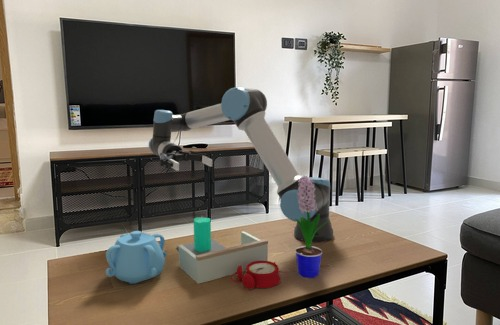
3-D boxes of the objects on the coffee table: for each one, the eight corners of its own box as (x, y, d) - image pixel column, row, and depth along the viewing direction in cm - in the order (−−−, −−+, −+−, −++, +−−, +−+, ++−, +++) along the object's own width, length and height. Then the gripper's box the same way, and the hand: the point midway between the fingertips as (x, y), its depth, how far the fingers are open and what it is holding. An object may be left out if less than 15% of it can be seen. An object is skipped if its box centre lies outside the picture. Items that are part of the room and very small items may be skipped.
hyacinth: (319, 284, 107) (321, 181, 103) (288, 274, 114) (289, 176, 109) (332, 273, 114) (335, 176, 110) (302, 264, 120) (304, 172, 116)
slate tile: (211, 240, 142) (211, 238, 142) (230, 252, 131) (230, 250, 131) (176, 248, 135) (176, 246, 135) (192, 261, 123) (192, 259, 123)
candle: (190, 248, 133) (189, 215, 131) (203, 243, 137) (202, 211, 135) (201, 252, 129) (201, 218, 127) (214, 247, 133) (214, 215, 131)
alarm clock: (290, 271, 107) (242, 269, 101) (286, 293, 108) (237, 292, 101) (273, 258, 117) (228, 255, 111) (269, 277, 118) (224, 276, 111)
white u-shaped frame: (244, 250, 133) (244, 228, 132) (267, 264, 121) (268, 240, 120) (179, 266, 120) (178, 242, 119) (198, 284, 108) (197, 257, 107)
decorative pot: (172, 265, 121) (171, 224, 119) (154, 289, 105) (152, 242, 103) (124, 263, 123) (122, 223, 121) (99, 286, 107) (96, 240, 105)
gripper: (197, 158, 161) (223, 171, 145) (140, 164, 147) (162, 179, 130) (198, 141, 159) (224, 152, 143) (140, 145, 145) (163, 158, 129)
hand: (195, 165), depth 137 cm, fingers open, 13 cm apart
